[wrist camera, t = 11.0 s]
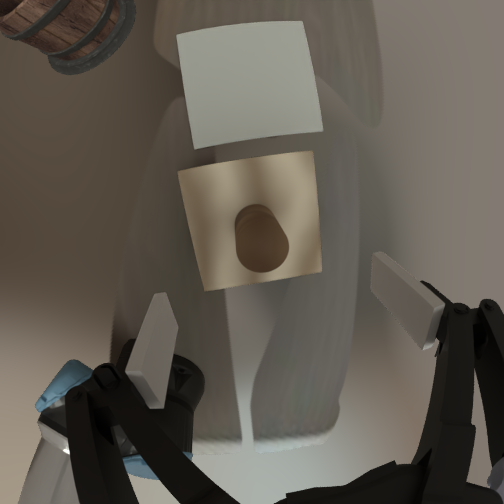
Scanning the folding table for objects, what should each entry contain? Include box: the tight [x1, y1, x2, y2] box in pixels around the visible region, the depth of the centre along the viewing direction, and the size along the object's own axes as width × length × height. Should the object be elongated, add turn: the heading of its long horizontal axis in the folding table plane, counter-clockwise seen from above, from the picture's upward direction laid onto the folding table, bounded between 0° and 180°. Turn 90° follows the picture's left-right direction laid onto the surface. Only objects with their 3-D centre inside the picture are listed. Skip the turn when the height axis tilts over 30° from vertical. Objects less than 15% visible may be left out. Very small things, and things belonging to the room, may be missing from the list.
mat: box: [177, 21, 323, 149], centre depth 31 cm, size 18×18×1 cm
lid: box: [177, 151, 322, 291], centre depth 26 cm, size 14×14×8 cm
